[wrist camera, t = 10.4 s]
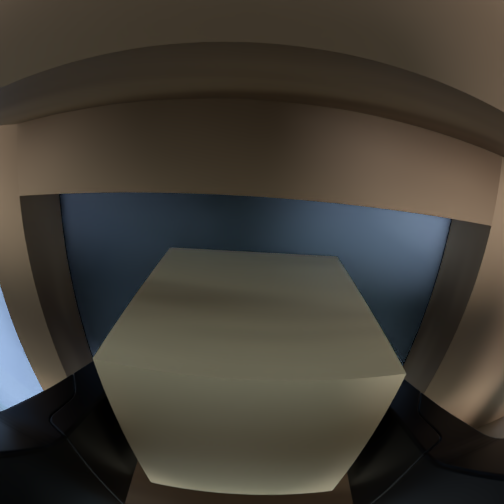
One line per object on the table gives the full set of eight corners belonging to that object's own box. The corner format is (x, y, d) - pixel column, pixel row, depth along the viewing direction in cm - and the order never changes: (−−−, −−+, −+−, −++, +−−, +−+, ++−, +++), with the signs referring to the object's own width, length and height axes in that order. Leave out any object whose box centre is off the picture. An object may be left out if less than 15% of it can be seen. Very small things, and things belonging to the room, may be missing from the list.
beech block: (311, 376, 10) (331, 490, 6) (181, 369, 10) (151, 482, 6) (336, 256, 9) (406, 373, 4) (170, 247, 9) (92, 358, 4)
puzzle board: (476, 415, 13) (506, 471, 8) (92, 423, 12) (60, 497, 7) (574, 161, 6) (646, 189, 1) (23, 79, 6) (-97, 76, 1)
